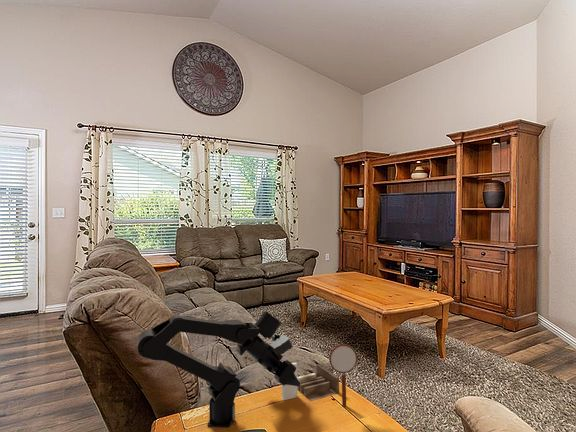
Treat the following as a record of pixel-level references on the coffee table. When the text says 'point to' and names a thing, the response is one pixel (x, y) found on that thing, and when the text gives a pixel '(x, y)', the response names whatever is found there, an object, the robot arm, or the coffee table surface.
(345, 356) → the magnifying glass
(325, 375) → the offcut rack
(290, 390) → the white flat board
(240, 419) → the coffee table surface
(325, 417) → the coffee table surface
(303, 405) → the coffee table surface
